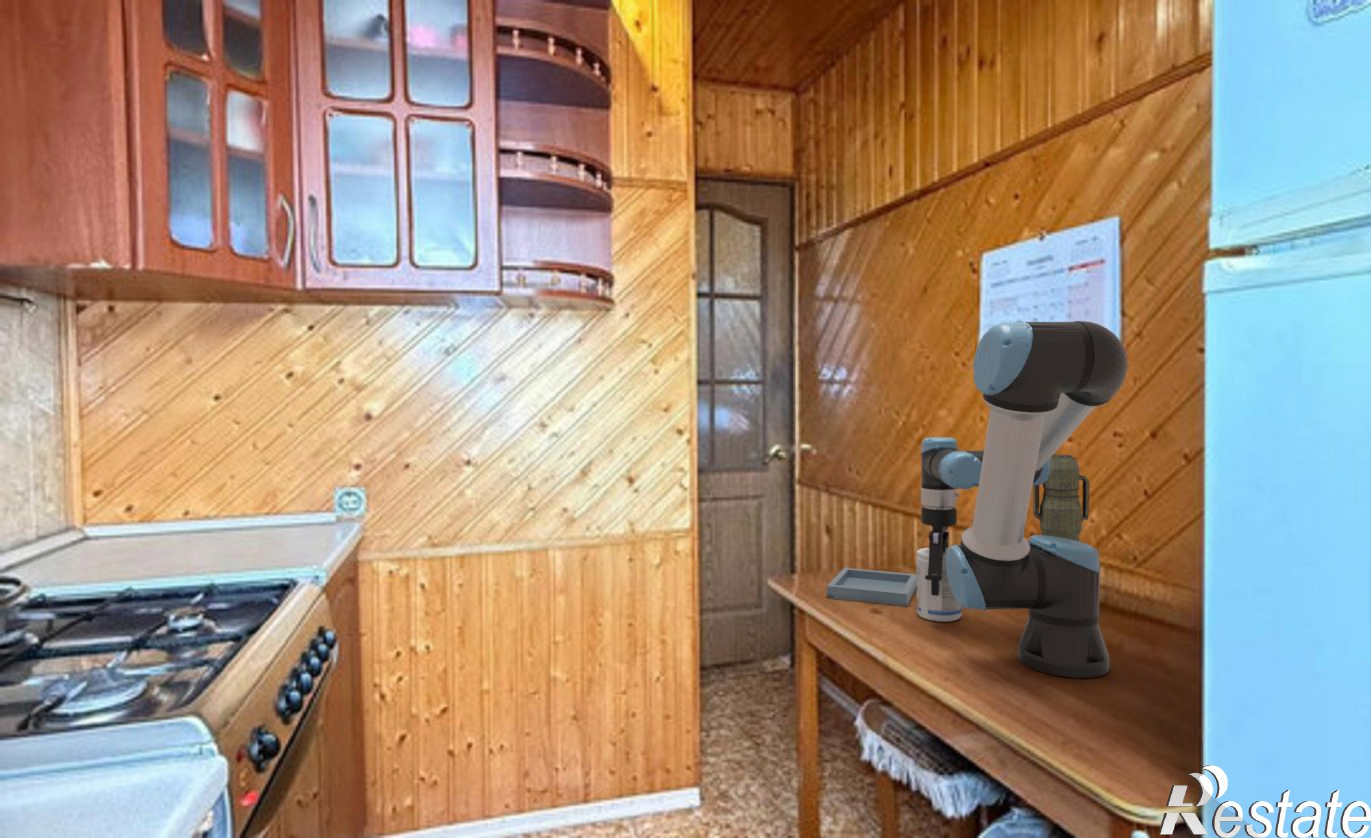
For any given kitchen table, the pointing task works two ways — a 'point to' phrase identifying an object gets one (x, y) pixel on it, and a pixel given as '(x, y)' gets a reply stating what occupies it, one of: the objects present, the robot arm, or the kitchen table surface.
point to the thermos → (1062, 499)
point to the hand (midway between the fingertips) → (938, 600)
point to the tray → (873, 587)
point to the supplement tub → (949, 603)
